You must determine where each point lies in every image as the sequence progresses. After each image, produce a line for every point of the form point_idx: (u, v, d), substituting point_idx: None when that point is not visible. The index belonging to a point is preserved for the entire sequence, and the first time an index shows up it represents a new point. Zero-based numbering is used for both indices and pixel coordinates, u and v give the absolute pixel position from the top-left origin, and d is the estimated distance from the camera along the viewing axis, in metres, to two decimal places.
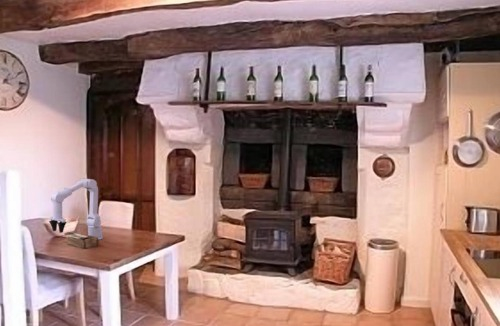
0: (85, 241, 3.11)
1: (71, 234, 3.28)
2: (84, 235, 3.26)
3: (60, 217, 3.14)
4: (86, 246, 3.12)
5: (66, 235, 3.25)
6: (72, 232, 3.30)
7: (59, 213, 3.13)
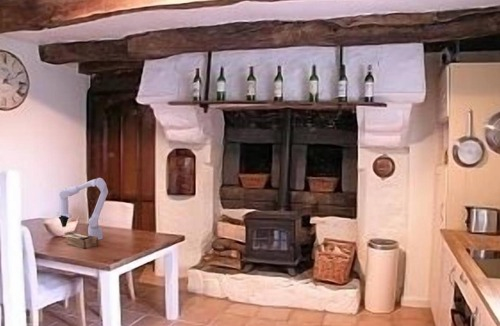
0: (85, 241, 3.11)
1: (71, 234, 3.28)
2: (84, 235, 3.26)
3: (66, 213, 3.30)
4: (86, 246, 3.12)
5: (66, 235, 3.25)
6: (72, 232, 3.30)
7: (65, 209, 3.29)
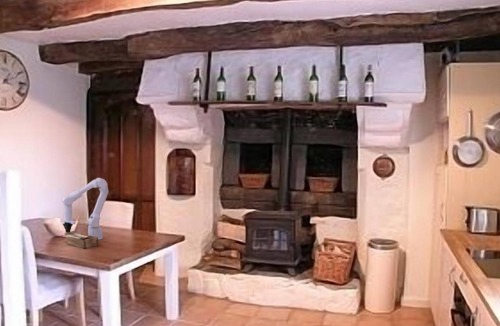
0: (85, 241, 3.11)
1: (71, 234, 3.28)
2: (84, 235, 3.26)
3: (70, 219, 3.27)
4: (86, 246, 3.12)
5: (66, 235, 3.25)
6: (72, 232, 3.30)
7: (69, 215, 3.27)
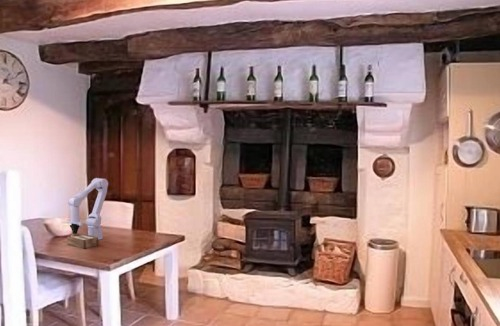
0: (85, 241, 3.11)
1: (78, 236, 3.23)
2: (91, 237, 3.21)
3: (77, 221, 3.23)
4: (86, 246, 3.12)
5: (73, 237, 3.21)
6: (79, 234, 3.25)
7: (76, 217, 3.22)
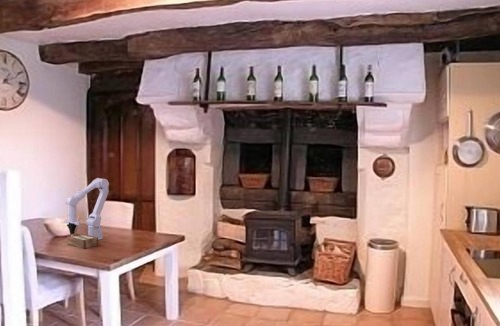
0: (85, 241, 3.11)
1: (78, 236, 3.23)
2: (91, 237, 3.21)
3: (74, 220, 3.25)
4: (86, 246, 3.12)
5: (73, 237, 3.21)
6: (79, 234, 3.25)
7: (73, 216, 3.24)
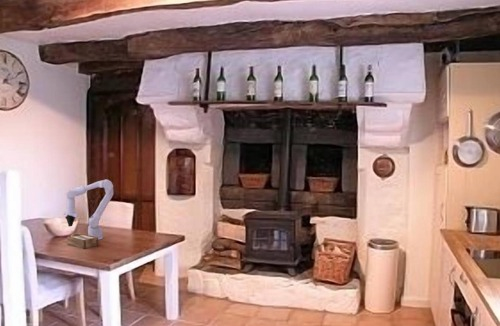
0: (85, 241, 3.11)
1: (78, 236, 3.23)
2: (91, 237, 3.21)
3: (73, 212, 3.30)
4: (86, 246, 3.12)
5: (73, 237, 3.21)
6: (79, 234, 3.25)
7: (72, 208, 3.29)
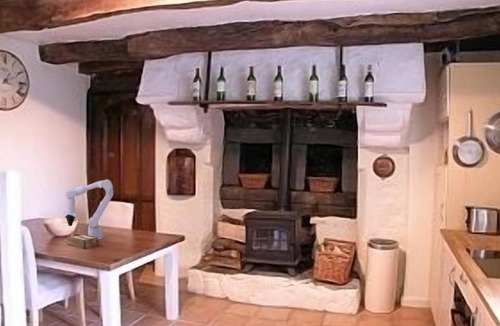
0: (85, 241, 3.11)
1: (78, 236, 3.23)
2: (91, 237, 3.21)
3: (73, 212, 3.32)
4: (86, 246, 3.12)
5: (73, 237, 3.21)
6: (79, 234, 3.25)
7: (72, 208, 3.31)
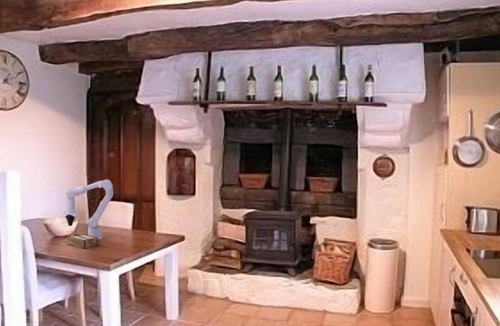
0: (85, 241, 3.11)
1: (78, 236, 3.23)
2: (91, 237, 3.21)
3: (73, 212, 3.32)
4: (86, 246, 3.12)
5: (73, 237, 3.21)
6: (79, 234, 3.25)
7: (72, 208, 3.31)
